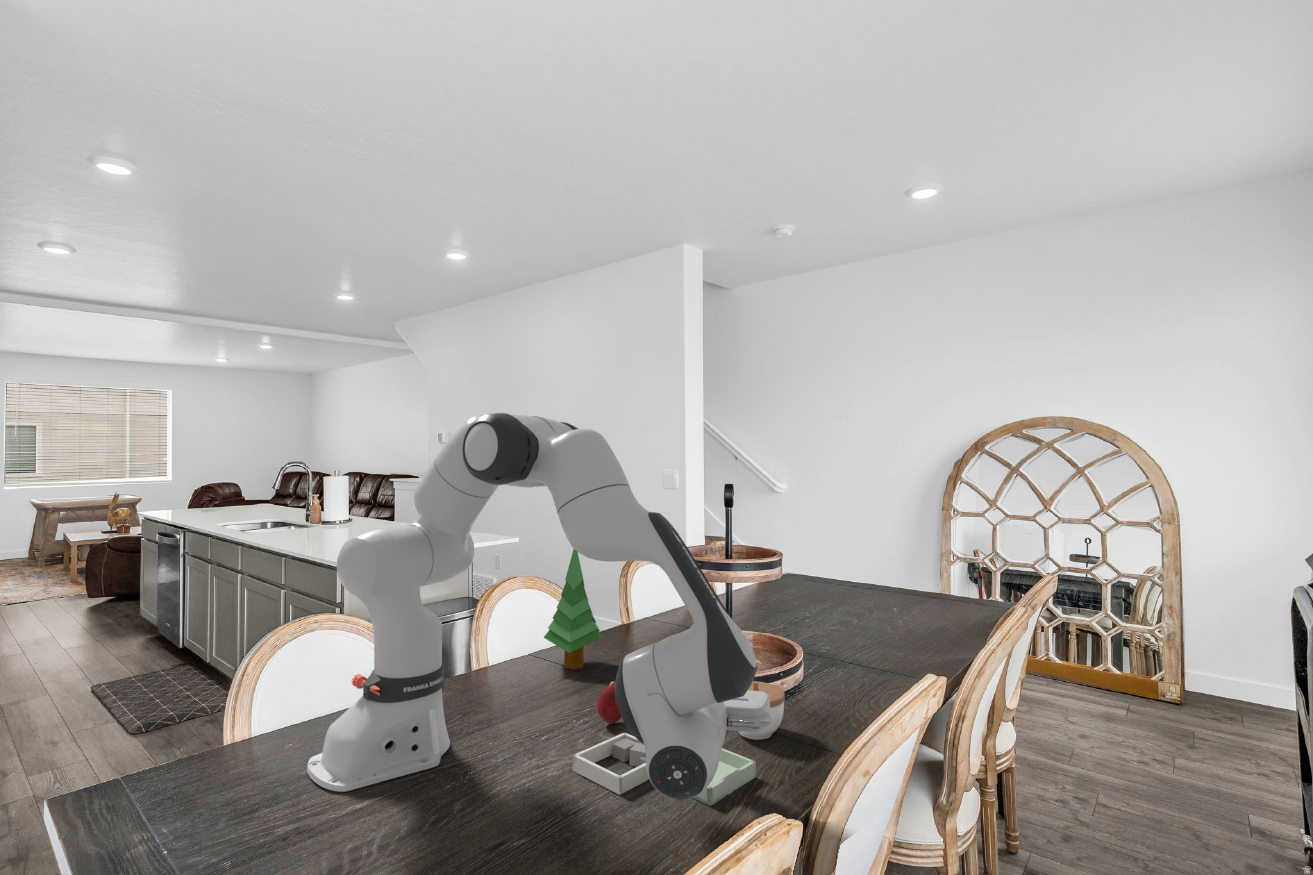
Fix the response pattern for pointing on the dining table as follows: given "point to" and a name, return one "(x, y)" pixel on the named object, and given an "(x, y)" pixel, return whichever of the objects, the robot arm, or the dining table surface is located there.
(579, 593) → the decorative tree
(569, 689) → the dining table surface
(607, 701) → the onion
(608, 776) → the gravel bin
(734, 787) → the green bin
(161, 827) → the dining table surface
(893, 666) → the dining table surface
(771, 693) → the lidded jar
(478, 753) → the dining table surface
